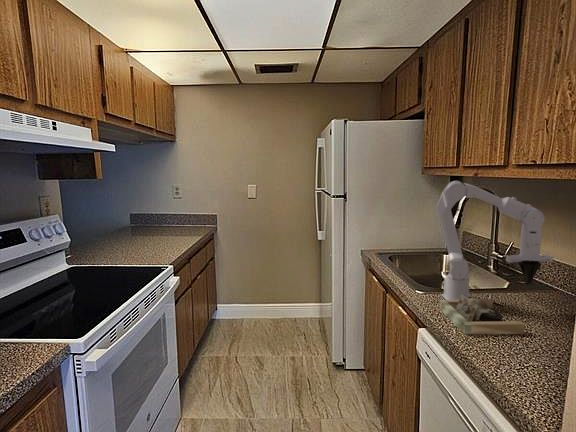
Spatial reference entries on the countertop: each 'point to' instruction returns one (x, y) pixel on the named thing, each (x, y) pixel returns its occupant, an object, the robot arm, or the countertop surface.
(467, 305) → the caster wheel
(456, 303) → the frame
